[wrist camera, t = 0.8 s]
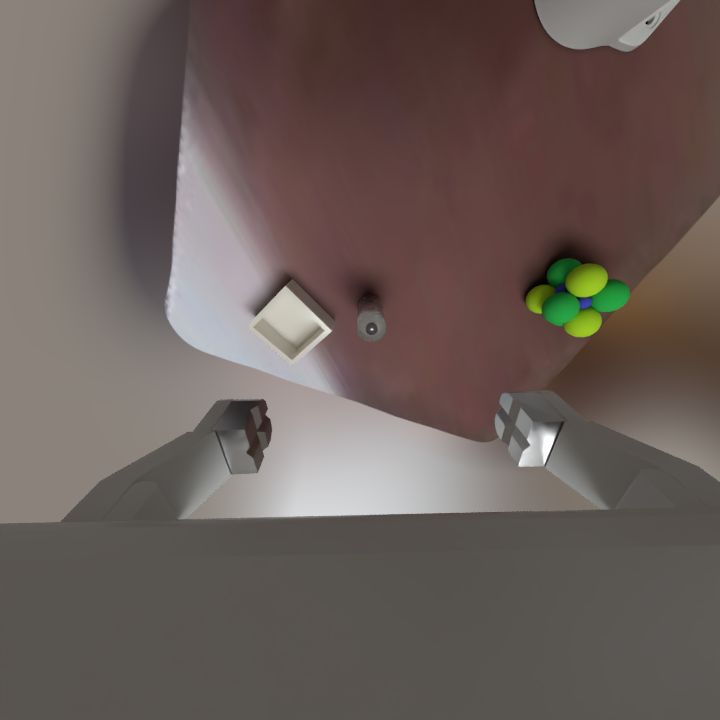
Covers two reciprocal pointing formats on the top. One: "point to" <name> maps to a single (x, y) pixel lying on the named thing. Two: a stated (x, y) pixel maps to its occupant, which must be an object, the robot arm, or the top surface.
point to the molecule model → (577, 296)
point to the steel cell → (371, 318)
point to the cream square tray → (292, 323)
